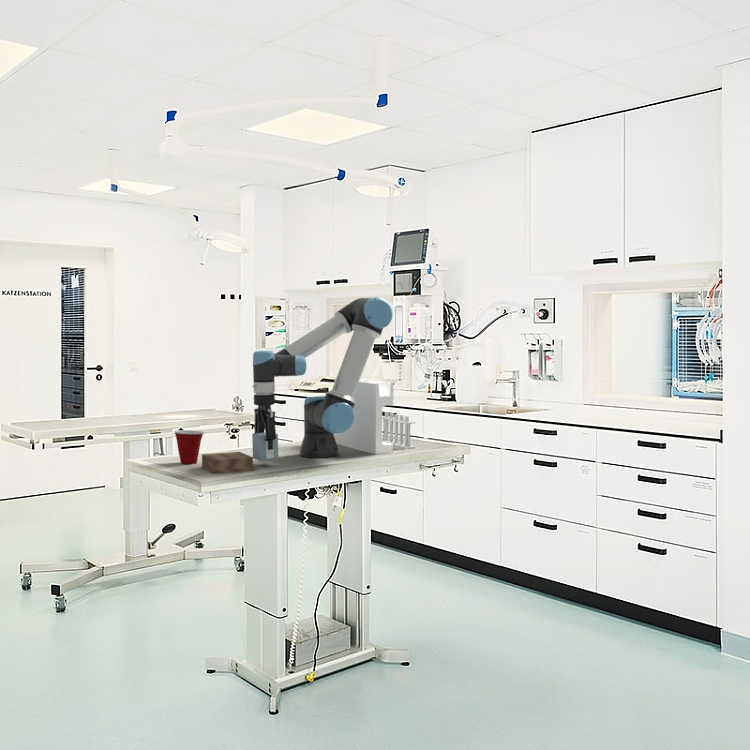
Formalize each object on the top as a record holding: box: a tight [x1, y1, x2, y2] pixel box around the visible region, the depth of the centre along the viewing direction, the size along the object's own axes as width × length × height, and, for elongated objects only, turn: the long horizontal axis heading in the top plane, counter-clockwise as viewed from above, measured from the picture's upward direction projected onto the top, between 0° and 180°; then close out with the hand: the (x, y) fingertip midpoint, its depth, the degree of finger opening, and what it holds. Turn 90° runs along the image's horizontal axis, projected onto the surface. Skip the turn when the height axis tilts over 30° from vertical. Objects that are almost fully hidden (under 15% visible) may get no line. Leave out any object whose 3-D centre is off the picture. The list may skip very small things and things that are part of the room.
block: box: [333, 378, 395, 456], centre depth 334 cm, size 35×8×28 cm, turn 31°
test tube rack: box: [382, 411, 416, 450], centre depth 344 cm, size 25×4×13 cm, turn 27°
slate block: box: [251, 432, 279, 462], centre depth 291 cm, size 7×7×9 cm
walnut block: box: [201, 451, 254, 475], centre depth 284 cm, size 14×14×5 cm
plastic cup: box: [173, 429, 205, 465], centre depth 296 cm, size 11×11×12 cm
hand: (265, 456), depth 291 cm, fingers closed on slate block, 7 cm apart
